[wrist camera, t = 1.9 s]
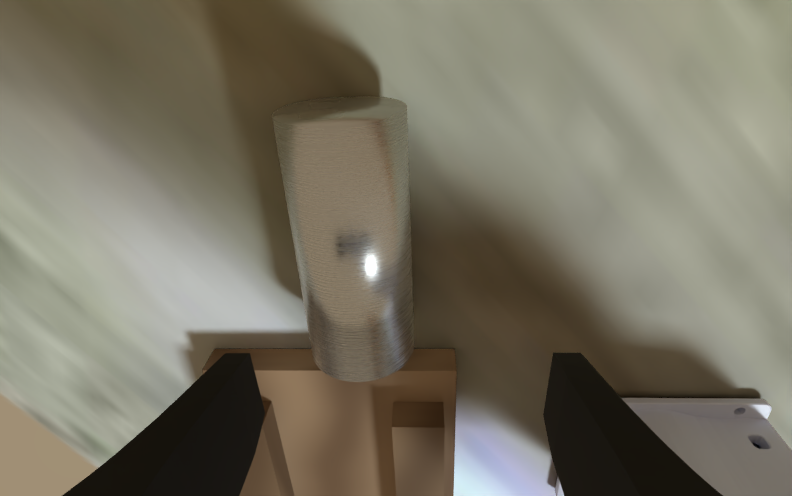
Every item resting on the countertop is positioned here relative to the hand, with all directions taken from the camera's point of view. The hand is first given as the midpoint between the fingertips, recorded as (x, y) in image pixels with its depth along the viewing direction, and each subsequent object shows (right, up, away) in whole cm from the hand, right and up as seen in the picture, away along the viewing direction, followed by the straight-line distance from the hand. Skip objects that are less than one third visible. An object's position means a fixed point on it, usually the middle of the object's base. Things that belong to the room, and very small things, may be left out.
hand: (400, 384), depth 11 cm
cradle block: (-3, -10, +16) cm, 19 cm away
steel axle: (-2, +3, +6) cm, 8 cm away
